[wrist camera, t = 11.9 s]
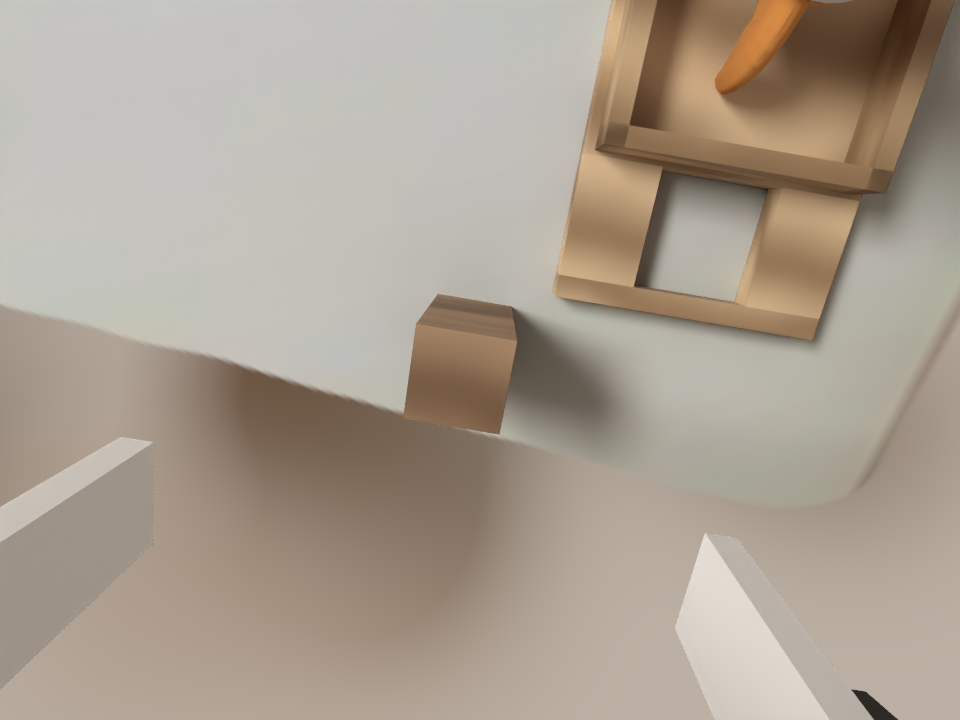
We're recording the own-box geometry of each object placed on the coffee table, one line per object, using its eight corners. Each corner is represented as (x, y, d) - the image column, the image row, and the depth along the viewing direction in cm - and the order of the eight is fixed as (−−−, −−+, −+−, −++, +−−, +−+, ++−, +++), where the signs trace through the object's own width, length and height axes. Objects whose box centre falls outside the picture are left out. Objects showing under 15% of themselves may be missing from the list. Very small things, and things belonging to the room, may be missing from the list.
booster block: (438, 294, 32) (416, 323, 23) (511, 306, 32) (517, 341, 23) (427, 364, 33) (403, 418, 24) (498, 376, 33) (499, 434, 24)
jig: (648, -178, 25) (675, -248, 22) (951, -122, 26) (1032, -182, 22) (552, 292, 32) (560, 303, 28) (797, 334, 32) (839, 351, 28)
